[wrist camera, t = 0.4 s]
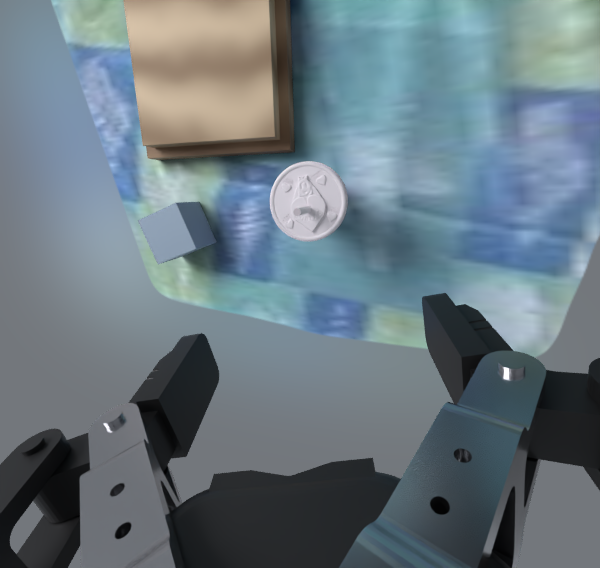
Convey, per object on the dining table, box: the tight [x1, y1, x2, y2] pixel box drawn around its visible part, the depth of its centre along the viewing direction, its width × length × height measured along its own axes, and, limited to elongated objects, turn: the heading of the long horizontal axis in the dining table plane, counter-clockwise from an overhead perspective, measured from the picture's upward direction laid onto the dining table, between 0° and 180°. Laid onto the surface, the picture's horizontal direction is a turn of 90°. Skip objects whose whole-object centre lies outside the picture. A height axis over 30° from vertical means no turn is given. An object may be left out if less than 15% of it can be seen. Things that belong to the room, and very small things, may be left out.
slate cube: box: [138, 202, 216, 264], centre depth 38 cm, size 5×5×5 cm
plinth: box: [124, 0, 295, 160], centre depth 34 cm, size 16×16×4 cm
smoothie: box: [270, 161, 348, 241], centre depth 30 cm, size 6×6×14 cm
